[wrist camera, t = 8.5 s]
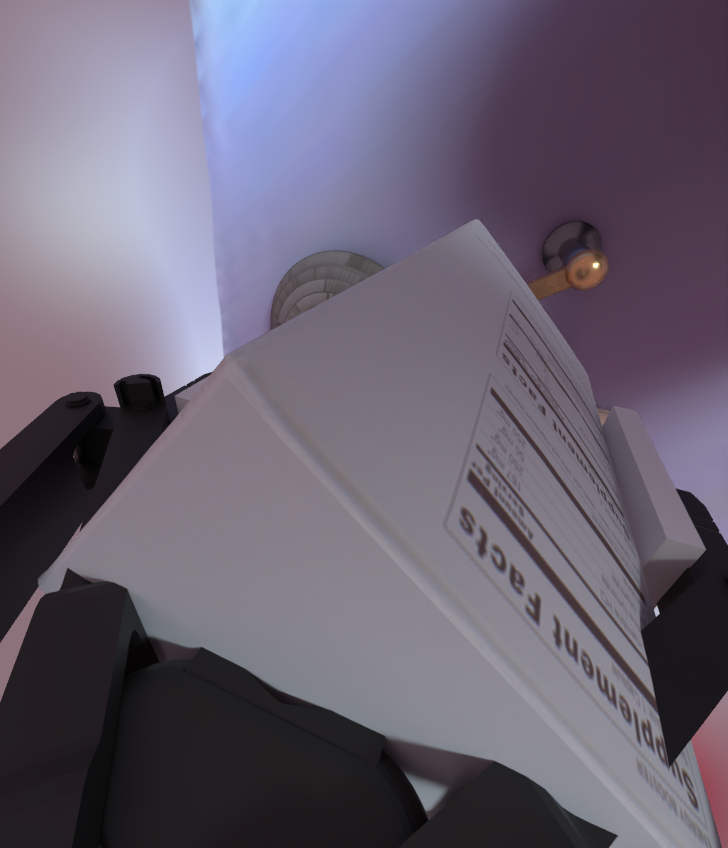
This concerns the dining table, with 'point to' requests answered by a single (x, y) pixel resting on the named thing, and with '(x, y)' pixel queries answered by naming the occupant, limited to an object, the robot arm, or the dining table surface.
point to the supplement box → (414, 542)
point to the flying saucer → (318, 282)
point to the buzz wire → (571, 260)
